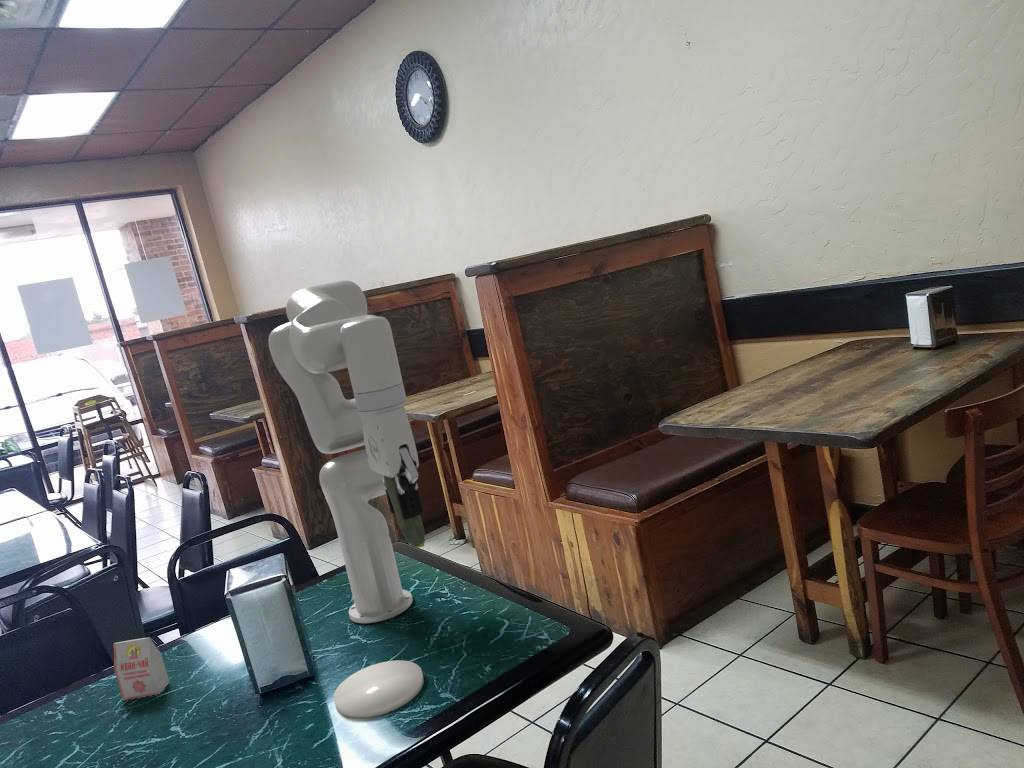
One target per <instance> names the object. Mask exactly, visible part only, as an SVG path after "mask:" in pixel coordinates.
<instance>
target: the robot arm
mask: <svg viewBox="0 0 1024 768" xmlns="http://www.w3.org/2000/svg"><path fill="white" fill-rule="evenodd" d="M285 312H286V317H287V319H288V321H289V322H285V323H284V324H281V325H279V326H277V327H275V328H274V329H273V330H271V332H270V333H269V335H268V348H269V352H270V355H271V358H272V361H273V363H274V365H275V367H276V369H277V371H278V372H279V374H280V376H281V377H282V379H284V381H285V382H286V384H287V385H288V386H289V387H290V389H291V390H292V392H293V393H294V394H295V396H296V398H297V400H298V403H299V406H300V409H301V413H302V414H303V417H304V420H305V423H306V425H307V428H308V431H309V435H310V437H311V439H312V441H313V443H314V446H315V447H316V449H317V450H318V451H319V452H320V453H322V454H324V455H333V454H337V453H340V452H344V451H350V450H352V449H356V448H360V447H362V446H364V447H365V448H364V449H362V450H361V449H360V450H357V451H353V452H350V453H347V454H342V455H340V456H336V457H334V458H333V459H330V460H329V461H327V462H325V464H324V465H323V466H322V467H321V469H320V471H319V475H318V478H319V485H320V487H321V489H322V493H323V495H324V498H325V500H326V502H327V505H328V508H329V510H330V512H331V515H332V518H333V522H334V525H335V529H336V533H337V537H338V542H339V544H340V550H341V553H342V557H343V562H344V566H345V570H346V574H347V577H348V582H349V585H350V590H351V594H352V599H353V604H352V605H351V606H350V607H349V609H348V615H349V619H350V620H351V621H352V622H354V623H357V624H372V623H378V622H383V621H386V620H389V619H391V618H392V619H393V618H394V617H396V616H398V615H400V614H402V613H403V612H405V611H406V610H408V609H409V608H410V607H411V605H412V603H413V600H414V599H413V595H412V593H411V591H409V590H406V589H403V587H402V582H401V579H400V575H399V570H398V565H397V560H396V558H395V553H394V548H393V543H392V540H391V535H390V531H389V527H388V523H387V520H386V517H385V516H384V515H383V513H382V512H381V511H379V509H377V508H376V507H374V506H372V505H371V504H369V501H370V500H372V499H373V500H374V499H375V498H377V497H380V496H384V495H385V496H386V499H387V505H388V507H389V511H390V513H391V514H395V511H394V508H393V505H392V502H391V499H390V497H389V494H388V492H387V489H386V486H385V482H384V477H383V475H384V476H387V477H390V478H392V477H395V481H396V484H397V488H398V491H399V494H398V495H397V497H398V501H399V505H400V510H401V514H402V518H403V519H405V520H406V519H409V518H412V517H415V516H417V515H420V516H421V515H422V514H423V507H422V503H421V498H420V493H419V490H418V489H419V485H418V482H417V481H418V478H419V472H418V470H417V469H418V468H419V465H420V461H419V457H418V450H417V446H416V443H415V437H414V434H413V430H412V427H411V424H410V420H409V417H408V414H407V411H406V409H405V406H406V405H407V404H408V399H407V396H406V390H405V386H404V383H403V378H402V374H401V373H402V372H401V368H400V367H401V366H400V365H399V364H400V363H399V358H398V355H397V350H396V345H395V341H394V336H393V332H392V327H391V324H390V322H389V319H387V318H386V317H384V316H379V315H378V316H377V315H374V314H368V303H367V298H366V295H365V293H364V291H363V289H362V288H361V287H360V286H359V285H358V284H357V283H356V282H353V281H351V280H340V281H334V282H328V283H324V284H319V285H318V284H317V285H311V286H308V287H304V288H302V289H299V290H297V291H295V292H293V294H292V295H291V296H290V297H289V298H288V300H287V302H286V307H285ZM345 369H347V371H348V375H349V379H350V383H351V387H352V388H351V389H352V391H353V396H354V398H352V399H346V398H345V397H344V394H343V391H342V389H341V387H340V383H339V382H338V380H337V379H336V378H335V377H334V376H333V375H332V374H331V372H335V371H339V370H345ZM402 468H404V469H405V471H404V472H401V473H399V470H400V469H402ZM403 476H406V478H404V479H403V483H402V481H401V477H403Z"/></svg>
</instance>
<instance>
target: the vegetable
mask: <svg viewBox="0 0 1024 768" xmlns="http://www.w3.org/2000/svg"><path fill="white" fill-rule="evenodd" d="M404 471H405V469H404V468H402V469H400V470H399V473H401V472H404ZM383 477H384V482H385V486H386V489H387V492H388V494H389V497H390V499H391V502H392V505H393V508H394V511H395V513H394V514H395V516H396V521H397V524H398V526H399V529H400V531H401V533H402V535H403V537H404V538H405V541H406V542H407V543H408V544H409V545H410V546H412V547H413V548H414V549H416V550H418V549H419V548H423V547H425V542H426V537H425V536H426V532H425V528H424V524H423V520H422V517H421V514H420V515H417V516H415V517H412V518H409V519H406V520H405V519H403V518H402V514H401V510H400V505H399V501H398V497H397V495H398V494H399V491H398V488H397V484H396V481H395V477H392V478H390V477H387V476H384V475H383ZM404 478H406V476H403V477H401V481H402V483H403V479H404Z"/></svg>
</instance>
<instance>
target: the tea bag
mask: <svg viewBox="0 0 1024 768" xmlns="http://www.w3.org/2000/svg"><path fill="white" fill-rule="evenodd" d="M112 648H113V672H114V674H115V676H116V681H117V684H118V688H119V692H120V695H121V698H122V701H129V700H128V699H130V700H135V698H137V699H142V698H141V697H143V698H147V697H146V696H149V697H153V696H152V695H155V696H158V695H157V694H160V693H161V692H162V693H163V692H164V690H165V689H166V688H167V687H168V686H169V685H170V684H169V683H170V680H169V676H168V673H167V670H166V666H165V663H164V659H163V656H162V653H161V651H160V649H158V647H157V646H156V645H155V643H154V642H153V641H152V638H151V637H150V636H148V637H142V638H136V639H135V638H134V639H129V640H124V641H119V642H113V644H112ZM168 684H169V685H168ZM167 685H168V686H167ZM166 686H167V687H166ZM165 687H166V688H165ZM164 688H165V689H164ZM162 693H161V694H162ZM161 694H160V695H161Z"/></svg>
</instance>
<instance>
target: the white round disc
mask: <svg viewBox="0 0 1024 768" xmlns="http://www.w3.org/2000/svg"><path fill="white" fill-rule="evenodd" d="M424 684H425V680H424V675H423V671H422V668H421V667H420V666H419V665H418V664H417V663H414V662H412V661H409V660H398V659H397V660H388V661H383V662H379V663H374V664H372V665H369V666H367V667H364V668H362V669H359V670H358V671H356V672H354V673H353V674H351V675H349V676H347V678H345V679H344V680H343V681H342V682H340V684H339V685H338V686H337V687H336V690H335V691H334V695H333V702H334V705H335V709H336V711H337V712H338V713H339V714H340V715H342V716H344V717H346V718H351V719H369V718H373V717H377V716H382V715H384V714H389V713H391V712H393V711H395V710H397V709H399V708H401V707H403V706H404V705H406V704H408V703H409V702H410V701H411V700H413V699H414V698H415V697H416V696H417V695H418V694H419V693H420V691H421V690H422V688H423V686H424ZM390 711H391V712H390Z"/></svg>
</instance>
